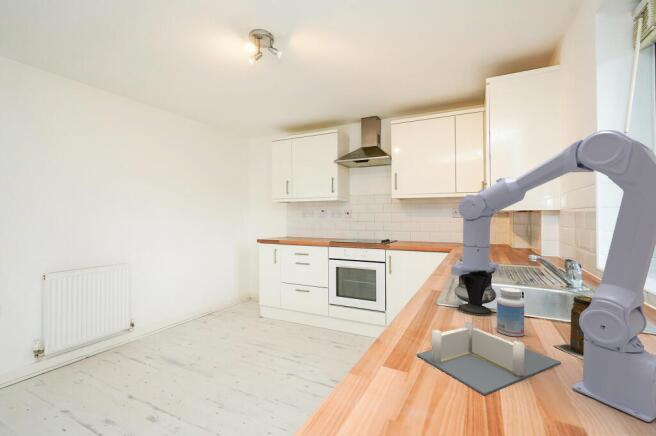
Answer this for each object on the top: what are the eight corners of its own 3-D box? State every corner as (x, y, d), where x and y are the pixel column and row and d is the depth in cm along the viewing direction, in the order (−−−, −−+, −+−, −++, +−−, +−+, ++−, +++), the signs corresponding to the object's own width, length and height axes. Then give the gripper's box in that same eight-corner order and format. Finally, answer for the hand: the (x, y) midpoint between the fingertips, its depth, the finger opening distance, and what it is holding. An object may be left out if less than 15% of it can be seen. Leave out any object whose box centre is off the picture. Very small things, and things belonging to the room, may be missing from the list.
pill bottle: (528, 338, 72) (529, 293, 72) (501, 336, 73) (502, 291, 73) (517, 329, 78) (518, 287, 78) (493, 327, 79) (493, 286, 79)
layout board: (560, 363, 60) (561, 361, 60) (484, 395, 48) (484, 392, 48) (489, 335, 73) (489, 333, 73) (416, 355, 62) (416, 353, 62)
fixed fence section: (468, 348, 65) (468, 321, 65) (475, 351, 64) (475, 324, 64) (429, 359, 60) (430, 330, 60) (436, 363, 58) (437, 333, 58)
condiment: (617, 358, 63) (618, 302, 62) (587, 362, 61) (588, 304, 61) (581, 343, 70) (582, 293, 70) (552, 346, 68) (553, 295, 68)
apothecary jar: (468, 303, 102) (469, 251, 102) (503, 312, 92) (504, 255, 92) (446, 308, 96) (447, 253, 96) (482, 319, 85) (483, 258, 85)
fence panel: (470, 352, 62) (471, 326, 62) (476, 350, 63) (477, 325, 63) (520, 376, 53) (520, 345, 53) (526, 374, 54) (526, 344, 54)
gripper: (480, 243, 76) (479, 295, 76) (441, 245, 70) (440, 302, 70) (507, 246, 70) (506, 302, 70) (467, 248, 63) (466, 310, 63)
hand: (475, 303), depth 69 cm, fingers closed
